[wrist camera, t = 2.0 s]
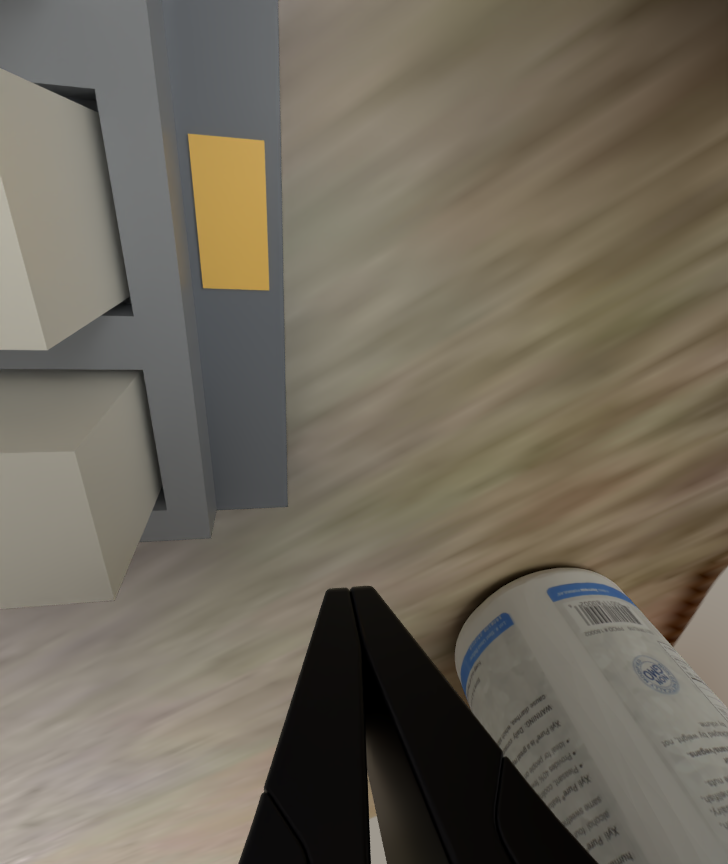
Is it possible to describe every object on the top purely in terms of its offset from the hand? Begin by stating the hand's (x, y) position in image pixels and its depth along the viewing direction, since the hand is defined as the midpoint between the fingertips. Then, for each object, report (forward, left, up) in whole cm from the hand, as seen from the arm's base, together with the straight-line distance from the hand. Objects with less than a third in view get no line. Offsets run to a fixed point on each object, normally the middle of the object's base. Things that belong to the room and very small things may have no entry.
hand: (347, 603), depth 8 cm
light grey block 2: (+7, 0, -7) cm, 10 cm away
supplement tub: (-12, +13, -9) cm, 20 cm away
